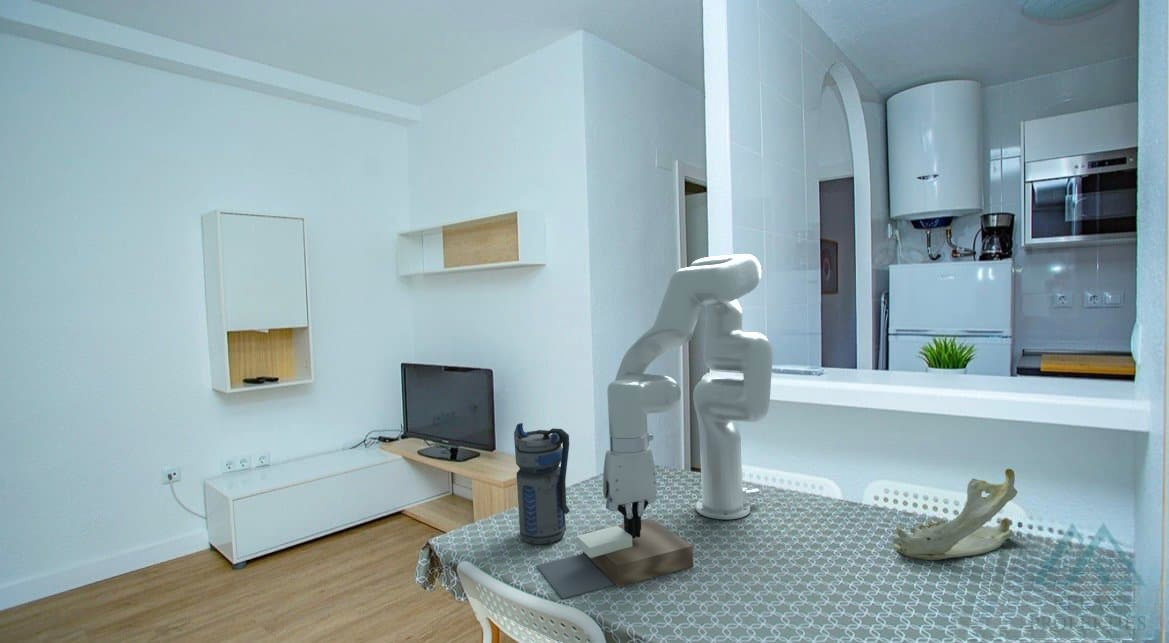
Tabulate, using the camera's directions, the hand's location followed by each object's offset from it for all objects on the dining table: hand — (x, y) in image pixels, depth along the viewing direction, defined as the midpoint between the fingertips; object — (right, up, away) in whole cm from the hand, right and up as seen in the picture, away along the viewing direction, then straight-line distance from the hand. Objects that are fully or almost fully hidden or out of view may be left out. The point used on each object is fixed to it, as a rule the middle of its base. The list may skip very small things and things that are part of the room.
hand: (633, 535), depth 114 cm
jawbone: (+62, -2, -1) cm, 62 cm away
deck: (+1, -5, 0) cm, 5 cm away
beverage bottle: (-18, -6, +13) cm, 23 cm away
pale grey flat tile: (-6, -1, -2) cm, 6 cm away
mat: (-12, -6, -5) cm, 14 cm away
